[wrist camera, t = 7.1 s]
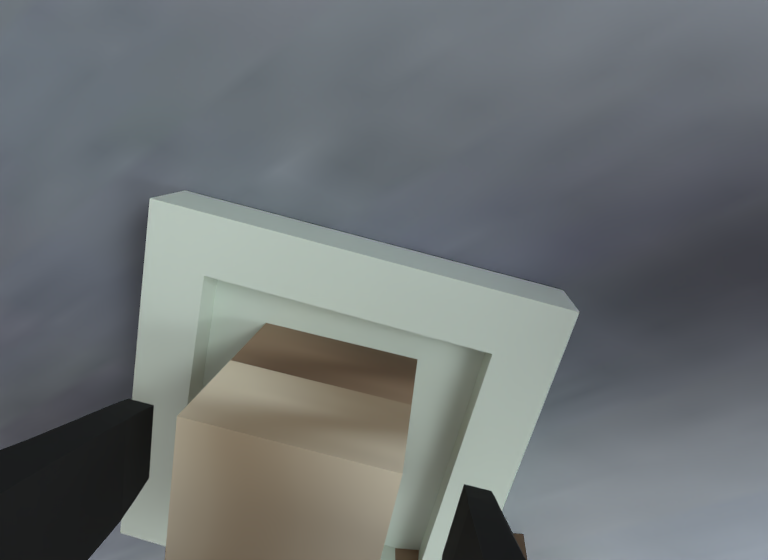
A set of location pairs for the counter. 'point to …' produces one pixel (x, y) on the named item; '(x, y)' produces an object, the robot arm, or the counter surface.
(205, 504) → the tan cube
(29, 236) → the counter surface
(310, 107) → the counter surface
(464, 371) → the base plate
